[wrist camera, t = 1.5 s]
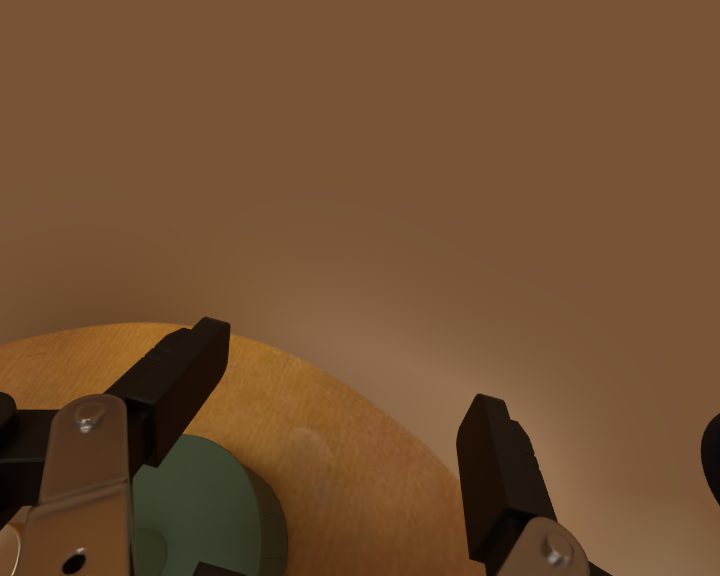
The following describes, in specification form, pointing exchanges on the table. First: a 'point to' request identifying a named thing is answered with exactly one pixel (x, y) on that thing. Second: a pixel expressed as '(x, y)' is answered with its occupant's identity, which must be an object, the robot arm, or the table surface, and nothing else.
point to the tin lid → (185, 514)
